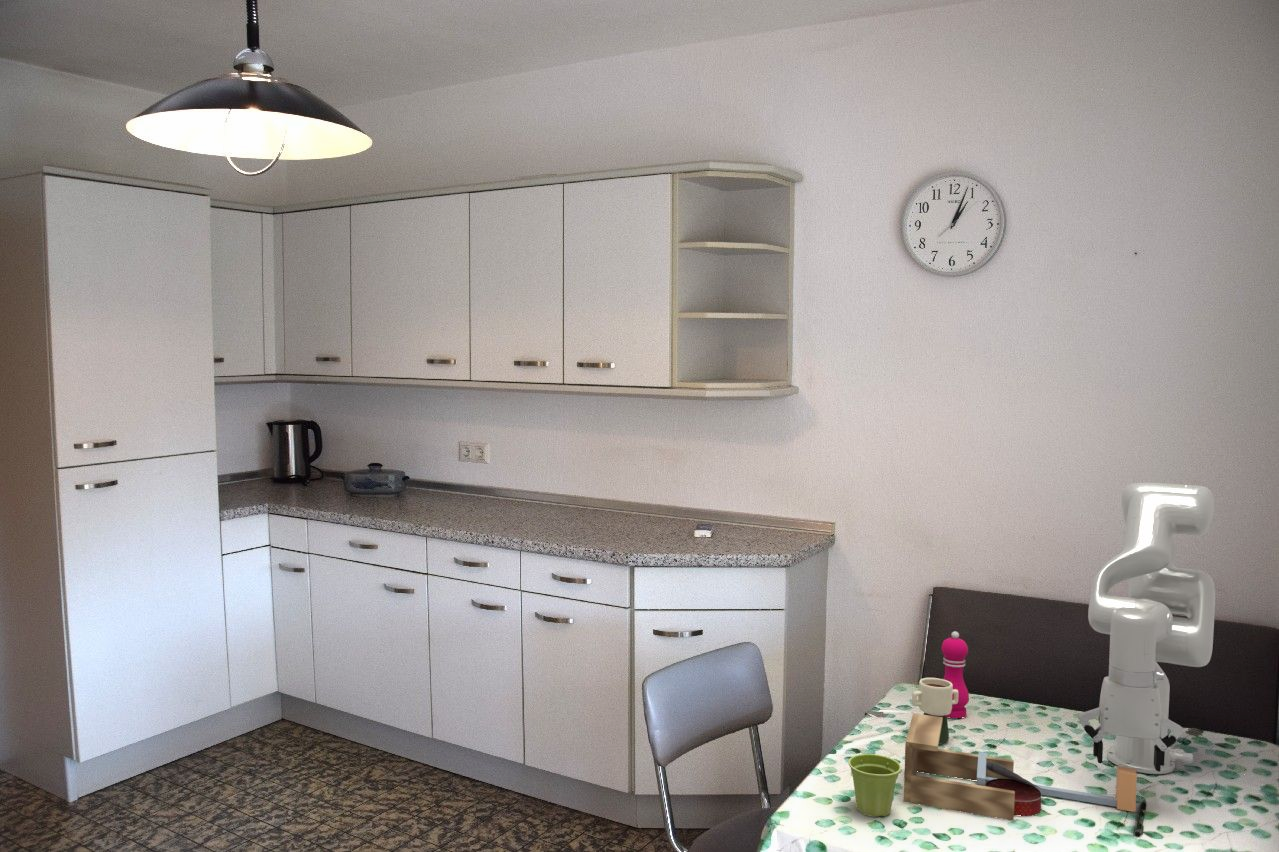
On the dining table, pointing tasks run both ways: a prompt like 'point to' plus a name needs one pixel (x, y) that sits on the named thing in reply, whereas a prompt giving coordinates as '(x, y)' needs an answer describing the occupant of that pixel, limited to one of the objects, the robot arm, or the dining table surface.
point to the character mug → (936, 701)
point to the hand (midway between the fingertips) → (1127, 764)
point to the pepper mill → (956, 672)
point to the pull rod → (1122, 801)
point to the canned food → (1017, 790)
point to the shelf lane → (950, 774)
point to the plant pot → (874, 783)
